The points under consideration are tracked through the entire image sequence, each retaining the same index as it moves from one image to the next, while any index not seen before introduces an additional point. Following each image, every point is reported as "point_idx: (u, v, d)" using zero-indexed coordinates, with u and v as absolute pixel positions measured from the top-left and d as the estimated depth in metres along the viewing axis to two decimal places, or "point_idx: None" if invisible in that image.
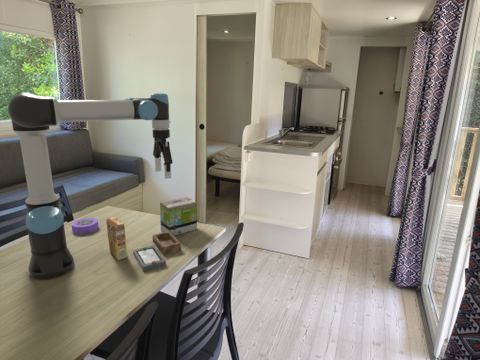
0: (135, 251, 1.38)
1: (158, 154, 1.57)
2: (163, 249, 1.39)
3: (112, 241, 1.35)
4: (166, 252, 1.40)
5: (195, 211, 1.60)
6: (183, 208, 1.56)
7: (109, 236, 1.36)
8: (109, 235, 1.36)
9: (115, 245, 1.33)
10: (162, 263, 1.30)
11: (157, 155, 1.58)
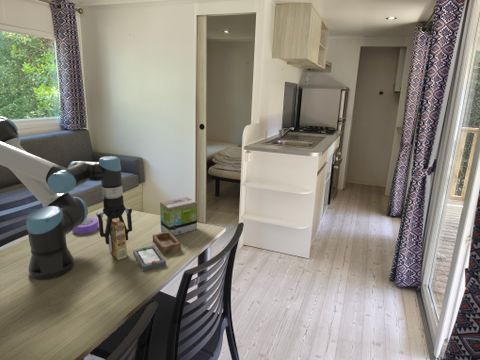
0: (135, 251, 1.38)
1: None
2: (163, 249, 1.39)
3: (112, 240, 1.35)
4: (166, 252, 1.40)
5: (195, 211, 1.60)
6: (183, 208, 1.56)
7: None
8: None
9: (115, 245, 1.33)
10: (162, 263, 1.30)
11: None
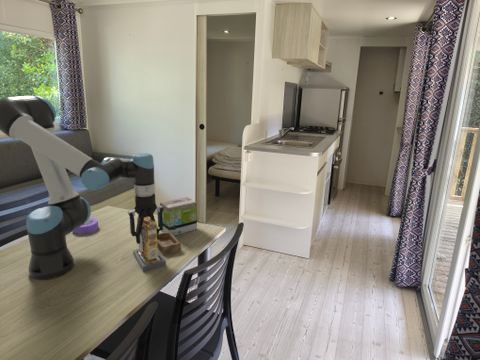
0: (135, 251, 1.38)
1: None
2: (163, 249, 1.39)
3: (143, 240, 1.31)
4: (166, 252, 1.40)
5: (195, 211, 1.60)
6: (183, 208, 1.56)
7: None
8: None
9: (146, 245, 1.29)
10: (162, 263, 1.30)
11: None
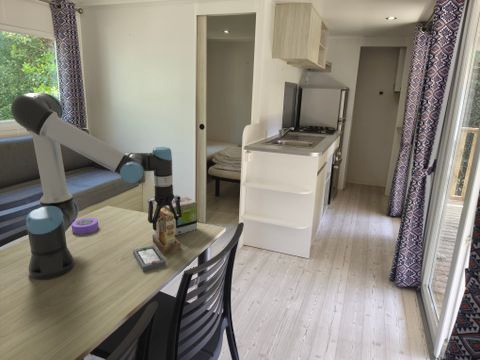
0: (135, 251, 1.38)
1: None
2: (163, 249, 1.39)
3: (161, 230, 1.43)
4: (166, 252, 1.40)
5: (195, 211, 1.60)
6: (183, 208, 1.56)
7: None
8: (158, 225, 1.44)
9: (165, 235, 1.41)
10: (162, 263, 1.30)
11: None
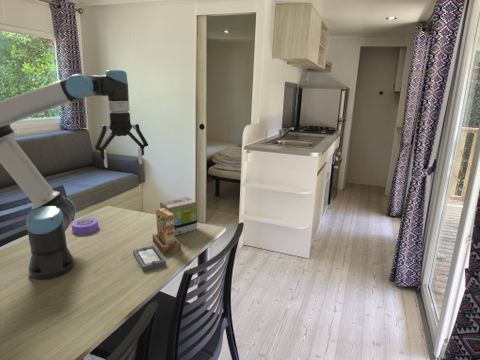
0: (135, 251, 1.38)
1: (137, 143, 1.36)
2: (163, 249, 1.39)
3: (161, 230, 1.43)
4: (166, 252, 1.40)
5: (195, 211, 1.60)
6: (183, 208, 1.56)
7: (158, 226, 1.44)
8: (158, 225, 1.44)
9: (165, 235, 1.41)
10: (162, 263, 1.30)
11: (138, 144, 1.36)
